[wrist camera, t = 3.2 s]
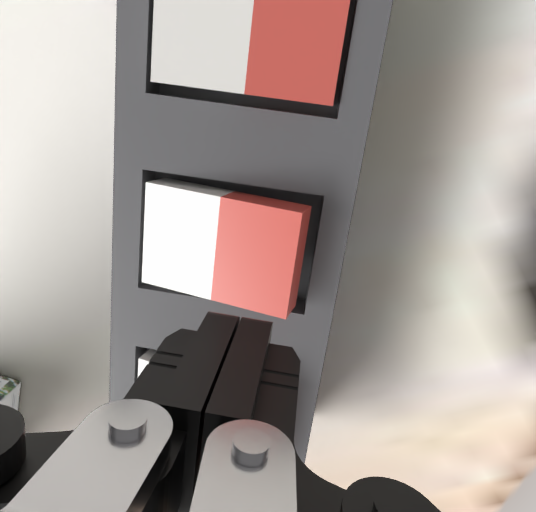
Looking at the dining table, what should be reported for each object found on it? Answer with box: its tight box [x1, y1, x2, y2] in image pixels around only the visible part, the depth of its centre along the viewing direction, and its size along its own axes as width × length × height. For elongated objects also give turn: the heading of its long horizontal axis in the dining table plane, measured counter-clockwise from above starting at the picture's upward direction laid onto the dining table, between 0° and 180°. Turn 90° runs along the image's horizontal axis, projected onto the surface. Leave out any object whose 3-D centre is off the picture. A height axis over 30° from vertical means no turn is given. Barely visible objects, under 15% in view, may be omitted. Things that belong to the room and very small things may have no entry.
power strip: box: [109, 0, 393, 463], centre depth 20 cm, size 22×9×5 cm, turn 173°
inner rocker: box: [150, 0, 350, 106], centre depth 15 cm, size 4×6×1 cm, turn 83°
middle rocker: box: [142, 178, 312, 319], centre depth 18 cm, size 4×6×1 cm, turn 83°
